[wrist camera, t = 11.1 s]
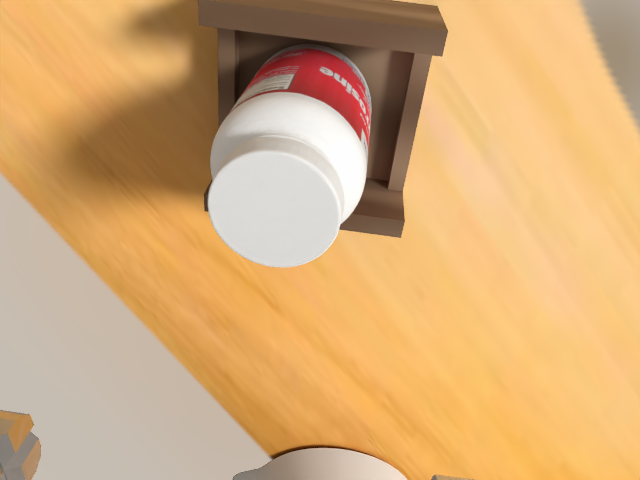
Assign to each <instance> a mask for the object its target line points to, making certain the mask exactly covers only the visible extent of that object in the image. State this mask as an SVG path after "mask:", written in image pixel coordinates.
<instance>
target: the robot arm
mask: <svg viewBox="0 0 640 480" xmlns="http://www.w3.org/2000/svg"><path fill="white" fill-rule="evenodd" d="M33 425H34V424H33V421H32V419H31V416H30V415H29V414H22V413H16V412H9V411H2V410H0V480H31V479H32V477H33V476H34V474H35V472H36V469H37V466H38V463H39V460H40V456H41V445H40V442H39V439H38V437H36V436H35V435H34V434H33V433H31V432H30V430H31V428H32V427H33ZM233 480H407V479H406V478H405V476H404V475H403V474H402V473H400V472H399V471H398V470H397V469H395V468H394V467H392V466H391V465H389V464H388V463H386V462H384V461H382V460H380V459H377V458H375V457H372V456H369V455H366V454H363V453H359V452H355V451H351V450H345V449H336V448H311V449H303V450H298V451H293V452H290V453H287V454H284V455H281V456H279V457H277V458H275V459H273V460H272V461H270V462H269V463H267V464H266V465H265V466H263V467H261V468H259V469H254V470H250V471H245V472H241V473H239V474H237V475H235V476H234V477H233ZM431 480H473V479H466V478H458V477H450V476H443V475H434V476H433V477H432V479H431Z"/></svg>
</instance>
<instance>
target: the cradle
mask: <svg viewBox="0 0 640 480" xmlns="http://www.w3.org/2000/svg"><path fill="white" fill-rule="evenodd" d="M198 6H199V25H201V26H208V27H216V28H218V92H219V127H220V125H221V124H222V122H223V121H224V119H225V118H226V117H227V115H228V114H229V112H230V111H231V110H232V108H233V107H234V105H235V104H236V102H237V101H238V100H239V98H240V97H241V95H242V94H243V92H244V91H245V89H246V88H247V87H248V85H249V84H250V82H251V81H252V79H253V78H254V77H255V75H256V73H257V72H258V71H259V69H260V68H261V67H262V66H263V65H264V63H265V62H266V61H267V60H268V59H269V58H270V57H272V56H273V55H274V54H276V53H277V52H279V51H281V50H283V49H285V48H288V47H291V46H294V45H299V44H318V45H323V46H327V47H330V48H332V49H335V50H337V51H339V52H340V53H342V54H344V55H345V56H346V57H347V58H349V59H350V60H351V61H352V62H353V63H354V64H355V65H356V66H357V68H358V69H359V70H360V72H361V73H362V75H363V77H364V79H365V81H366V83H367V86H368V89H369V93H370V97H371V107H372V110H371V125H370V138H369V149H368V161H367V173H366V180H365V185H364V190H363V193H362V196H361V198H360V200H359V202H358V204H357V206H356V208H355V209H354V211H353V212H352V213H351V215H350V216H349V217H348V218H347V219H346V220H345V221H344V222H343V223H342V224H340V228H339V229H340V230H348V231H355V232H362V233H370V234H377V235H384V236H392V237H399V238H401V235H402V230H403V226H404V222H405V220H404V205H403V187H404V182H405V178H406V173H407V169H408V164H409V159H410V155H411V150H412V145H413V141H414V136H415V132H416V127H417V122H418V118H419V113H420V109H421V104H422V99H423V95H424V90H425V86H426V81H427V76H428V72H429V67H430V62H431V58H432V55H434V56H442V55H443V50H444V46H445V42H446V37H447V33H448V30H447V28H446V25H445V23H444V21H443V18H442V16H441V14H440V11H439V9H438V7H437V6H432V5H424V4H416V3H408V2H400V1H392V0H198ZM211 183H212V181H211ZM211 183H210V184H209V186H208V188H207V190H206V192H205V193H204V205H205V211H208V193H209V189H210V185H211ZM208 212H209V211H208Z"/></svg>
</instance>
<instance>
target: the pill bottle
mask: <svg viewBox="0 0 640 480" xmlns="http://www.w3.org/2000/svg"><path fill="white" fill-rule="evenodd" d="M371 110H372V107H371V97H370V93H369V89H368V86H367V83H366V81H365V79H364V77H363V75H362V73H361V72H360V70H359V69H358V68H357V66H356V65H355V64H354V63H353V62H352V61H351V60H350V59H349V58H347V57H346V56H345V55H344V54H342V53H340V52H339V51H337V50H335V49H332V48H330V47H327V46H323V45H318V44H299V45H294V46H291V47H288V48H285V49H283V50H281V51H279V52H277V53H276V54H274V55H273V56H272V57H270V58H269V59H268V60H267V61H266V62H265V63H264V65H263V66H262V67H261V68H260V69H259V71H258V72H257V73H256V75H255V77H254V78H253V79H252V81H251V82H250V84H249V85H248V87H247V88H246V89H245V91H244V92H243V94H242V95H241V97H240V98H239V100H238V101H237V102H236V104H235V105H234V107H233V108H232V110H231V111H230V112H229V114H228V115H227V117H226V118H225V119H224V121H223V122H222V124H221V125H220V127H219V130H218V132H217V133H216V136H215V138H214V141H213V145H212V149H211V156H210V168H211V175H212V183H211V185H210V189H209V193H208V211H209V216H210V219H211V222H212V225H213V227H214V229H215V230H216V232H217V234H218V235H219V236H220V238H221V239H222V240H223V241H224V242H225V244H226V245H227V246H228V247H230V248H231V249H232V250H234V251H235V252H236V253H238V254H239V255H241V256H242V257H244V258H246V259H248V260H250V261H252V262H255V263H258V264H262V265H266V266H271V267H293V266H299V265H302V264H305V263H308V262H310V261H312V260H314V259H316V258H317V257H319V256H320V255H321V254H323V253H324V252H325V251H326V250H327V249H328V248H329V247H330V245H331V244H332V243H333V241H334V240H335V238H336V236H337V234H338V231H339V228H340V224H342V223H343V222H344V221H345V220H346V219H347V218H348V217H349V216H350V215H351V213H352V212H353V211H354V209H355V208H356V206H357V204H358V202H359V200H360V198H361V196H362V193H363V190H364V185H365V180H366V173H367V161H368V149H369V138H370V125H371Z"/></svg>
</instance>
